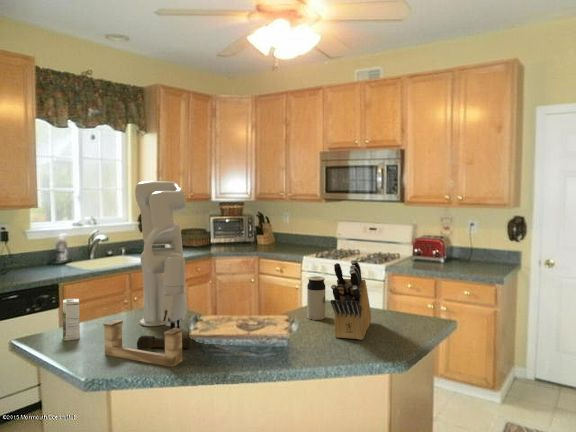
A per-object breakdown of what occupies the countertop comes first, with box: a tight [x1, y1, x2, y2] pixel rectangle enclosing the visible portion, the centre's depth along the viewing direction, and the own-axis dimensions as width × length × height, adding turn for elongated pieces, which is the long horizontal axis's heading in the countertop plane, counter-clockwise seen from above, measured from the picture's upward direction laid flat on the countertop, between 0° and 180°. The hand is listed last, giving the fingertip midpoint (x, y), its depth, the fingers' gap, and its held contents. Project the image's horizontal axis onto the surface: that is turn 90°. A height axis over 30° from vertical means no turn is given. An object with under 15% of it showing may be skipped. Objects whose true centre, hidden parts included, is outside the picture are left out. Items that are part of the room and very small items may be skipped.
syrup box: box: [62, 298, 81, 342], centre depth 171 cm, size 6×6×14 cm
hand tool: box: [136, 335, 191, 350], centre depth 161 cm, size 19×4×5 cm, turn 87°
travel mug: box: [306, 275, 326, 321], centre depth 199 cm, size 8×8×18 cm
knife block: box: [330, 259, 372, 341], centre depth 178 cm, size 11×35×31 cm, turn 162°
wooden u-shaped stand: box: [103, 319, 184, 368], centre depth 151 cm, size 5×28×11 cm, turn 68°
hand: (175, 338), depth 168 cm, fingers closed
